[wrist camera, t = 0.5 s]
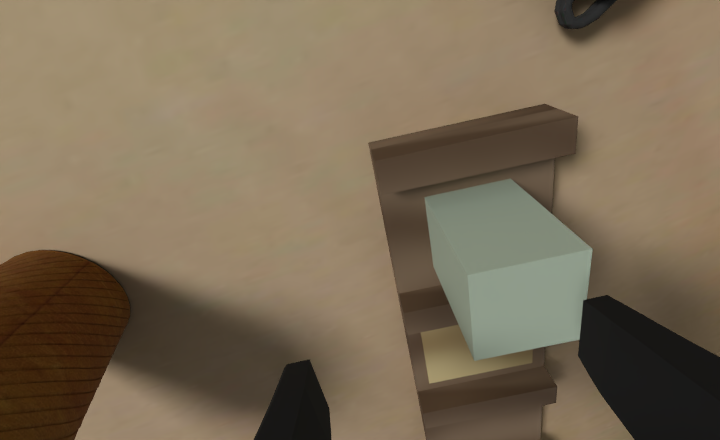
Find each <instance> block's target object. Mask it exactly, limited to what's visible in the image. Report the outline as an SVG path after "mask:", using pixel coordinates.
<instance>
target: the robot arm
mask: <svg viewBox="0 0 720 440" xmlns="http://www.w3.org/2000/svg"><path fill="white" fill-rule="evenodd" d="M578 356H579V358H580V360H581V361H582V363H583V365H584V367H585V368H586V370H587V372H588V374H589V375H590V377H591V379H592V380H593V382H594V384H595V385H596V387H597V389H598V390H599V392H600V394H601V395H602V396H603V398H604V399H605V400H606V402H607V403H608V405H609V406H610V407H611V409H612V410H613V411H614V413H615V414H616V415H617V417H618V418H619V419H620V421H621V422H622V423H623V425H624V426H625V427H626V429H627V430H628V431H629V433H630V434H631V435H632V437H633V438H634V439H635V440H720V357H718V356H716V355H714V354H713V353H711V352H709V351H707V350H705V349H703V348H701V347H700V346H698V345H696V344H694V343H692V342H690V341H689V340H687V339H685V338H683V337H681V336H679V335H678V334H676V333H674V332H672V331H670V330H669V329H667V328H665V327H663V326H662V325H660V324H658V323H656V322H654V321H653V320H651V319H649V318H647V317H646V316H644V315H642V314H640V313H639V312H637V311H635V310H633V309H631V308H630V307H628V306H626V305H624V304H623V303H621V302H619V301H617V300H615V299H613V298H612V297H610V296H608V295H605V296H601V297H596V298H591V299H587V300H583V308H582V319H581V330H580V341H579V352H578ZM254 440H331V427H330V413H329V407H328V404H327V402H326V399H325V397H324V394H323V392H322V389H321V387H320V384H319V382H318V379H317V377H316V374H315V372H314V369H313V367H312V365H311V362H310V360H305V361H300V362H296V363H291V364H287V365H286V367H285V368H284V370H283V373H282V375H281V378H280V380H279V383H278V385H277V388H276V390H275V393H274V395H273V397H272V400H271V402H270V405H269V407H268V409H267V412H266V414H265V416H264V418H263V421H262V423H261V425H260V427H259V429H258V432H257V434H256V436H255V438H254Z"/></svg>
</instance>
